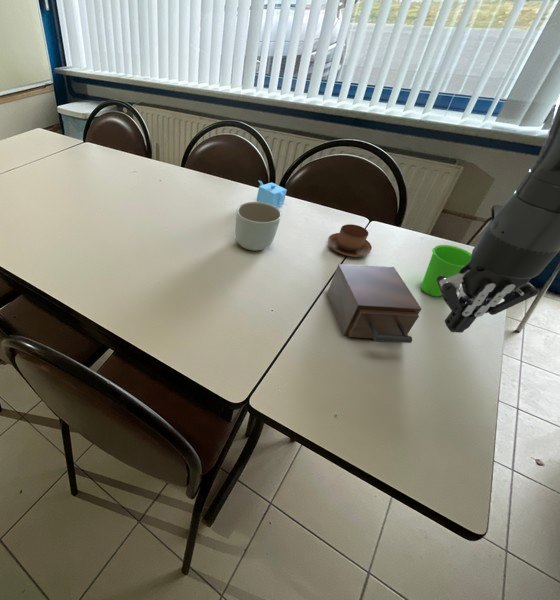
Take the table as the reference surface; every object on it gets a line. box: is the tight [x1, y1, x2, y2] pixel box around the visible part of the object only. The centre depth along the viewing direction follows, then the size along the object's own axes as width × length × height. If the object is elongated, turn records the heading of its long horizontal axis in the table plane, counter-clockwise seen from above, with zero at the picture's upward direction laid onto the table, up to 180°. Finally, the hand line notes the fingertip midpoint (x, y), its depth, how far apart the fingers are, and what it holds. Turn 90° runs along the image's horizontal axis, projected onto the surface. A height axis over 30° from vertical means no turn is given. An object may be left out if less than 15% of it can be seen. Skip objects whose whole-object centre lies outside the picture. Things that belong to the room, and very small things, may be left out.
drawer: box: [348, 309, 420, 344], centre depth 81 cm, size 18×12×7 cm, turn 175°
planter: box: [234, 201, 282, 252], centre depth 107 cm, size 12×12×11 cm
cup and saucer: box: [327, 223, 373, 258], centre depth 107 cm, size 12×12×6 cm
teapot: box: [255, 180, 288, 208], centre depth 128 cm, size 12×6×8 cm, turn 33°
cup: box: [420, 244, 472, 297], centre depth 91 cm, size 9×9×11 cm
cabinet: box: [326, 263, 422, 337], centre depth 84 cm, size 15×13×9 cm
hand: (453, 328), depth 58 cm, fingers closed
